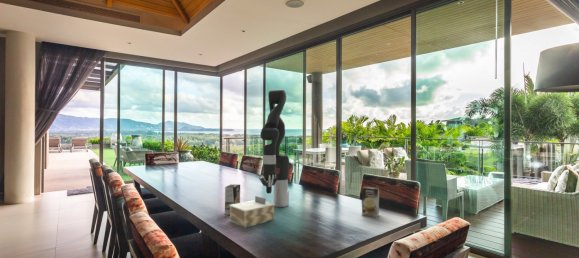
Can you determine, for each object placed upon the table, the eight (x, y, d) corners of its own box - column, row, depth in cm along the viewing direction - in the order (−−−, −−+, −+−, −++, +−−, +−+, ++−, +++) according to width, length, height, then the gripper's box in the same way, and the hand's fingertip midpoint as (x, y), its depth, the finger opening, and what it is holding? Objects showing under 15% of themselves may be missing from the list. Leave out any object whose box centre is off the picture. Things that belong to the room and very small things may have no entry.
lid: (258, 200, 173) (258, 194, 173) (274, 204, 162) (274, 198, 162) (229, 206, 159) (229, 199, 159) (245, 211, 149) (245, 204, 149)
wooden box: (258, 214, 172) (258, 200, 172) (273, 219, 162) (273, 205, 162) (230, 221, 159) (230, 206, 159) (245, 227, 149) (245, 211, 149)
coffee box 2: (361, 215, 172) (361, 187, 172) (363, 212, 178) (363, 186, 178) (377, 217, 168) (377, 189, 168) (379, 214, 174) (379, 187, 174)
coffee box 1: (234, 215, 170) (235, 187, 170) (224, 214, 172) (224, 186, 172) (240, 210, 179) (240, 184, 179) (230, 210, 181) (230, 183, 181)
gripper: (273, 161, 176) (273, 190, 176) (256, 163, 167) (255, 193, 167) (282, 162, 171) (281, 192, 171) (264, 164, 162) (263, 195, 162)
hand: (268, 193), depth 169 cm, fingers closed
